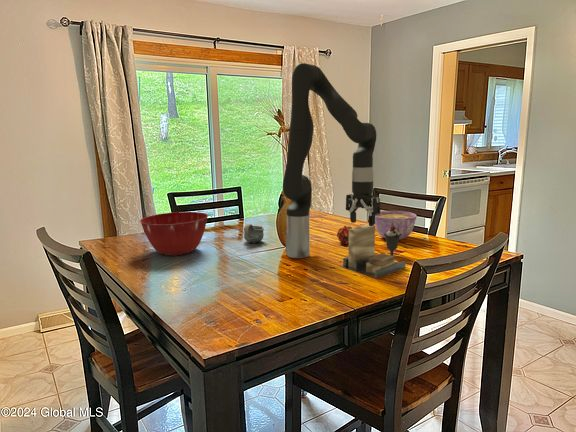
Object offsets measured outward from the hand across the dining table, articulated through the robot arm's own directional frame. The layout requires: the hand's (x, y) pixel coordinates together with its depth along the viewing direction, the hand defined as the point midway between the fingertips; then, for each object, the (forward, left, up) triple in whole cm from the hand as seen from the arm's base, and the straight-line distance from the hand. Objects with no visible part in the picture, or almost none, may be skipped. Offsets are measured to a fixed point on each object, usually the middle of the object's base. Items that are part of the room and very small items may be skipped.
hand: (362, 224), depth 153 cm
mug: (-59, -9, -17) cm, 62 cm away
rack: (+5, 0, -17) cm, 17 cm away
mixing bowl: (-70, -42, -17) cm, 83 cm away
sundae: (0, +17, -17) cm, 24 cm away
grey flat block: (+9, 0, -15) cm, 18 cm away
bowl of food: (-20, +45, -17) cm, 52 cm away
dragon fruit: (-29, +22, -17) cm, 40 cm away
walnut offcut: (+10, -1, -12) cm, 16 cm away
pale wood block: (0, 0, -15) cm, 15 cm away
